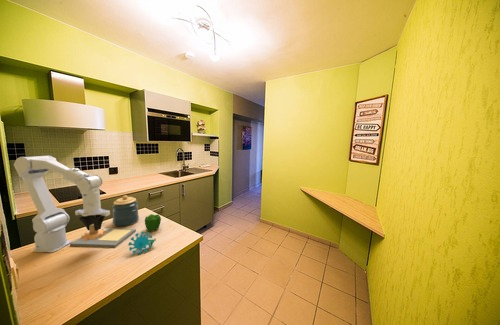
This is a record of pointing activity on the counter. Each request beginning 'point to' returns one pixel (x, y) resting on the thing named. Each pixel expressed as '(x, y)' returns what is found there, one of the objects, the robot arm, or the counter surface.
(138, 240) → the teal virus toy
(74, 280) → the counter surface
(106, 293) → the counter surface
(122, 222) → the canister
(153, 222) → the bell pepper
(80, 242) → the gear board
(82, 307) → the counter surface
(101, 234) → the wood gear
